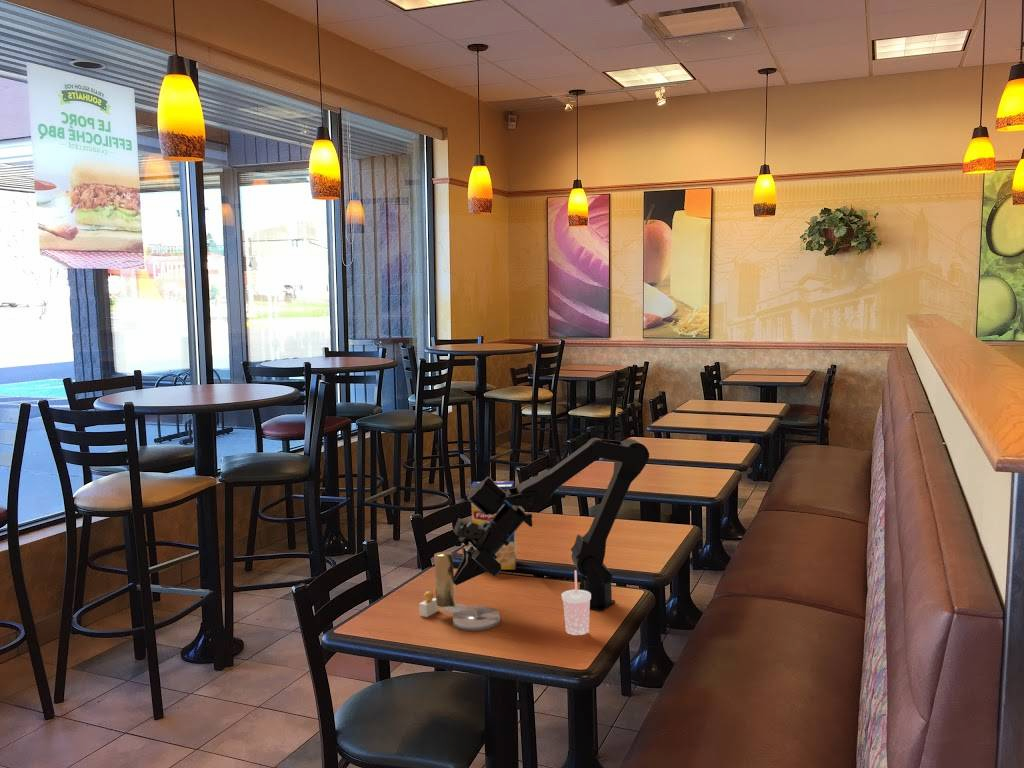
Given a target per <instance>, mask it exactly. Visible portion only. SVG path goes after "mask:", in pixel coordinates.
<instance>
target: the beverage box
mask: <svg viewBox="0 0 1024 768" xmlns="http://www.w3.org/2000/svg"><path fill="white" fill-rule="evenodd" d="M480 482H481V481H473V482H472V484H471V486H470V491H471V490H472V489H473V488H474V487H475V486H476V485H478V484H479V483H480ZM493 482H494V483H495V484H496V485H497V486H498V487H500V488H501V489H502V490H505V489H510V488H514V487H515V481H514V480H504V481H502V480H501V481H500V480H499V481H498V480H497V481H496V480H495V481H494V480H493ZM504 501H505V502H506V503H507V504H508V505H509V506H511V507H514V506H513V505H511V504H510V503H509V502H508V501H507V500H504ZM470 504H471V506H470V507H471V521H472V522H473V523H477V524H478V525H479V526H481V525H482V524H483V523H484V522H487V523H489V522H490V521H491V520H492V519H493V517H494V516H495V515H496V514H497V513H498V512H499V510H500V509H501V508H502V507H503V506H504V505H505V504H503V505H502V507H501V508H500V509H499V510H498V511H497V512H496V513H495V514H494V515H490V514H488V515H485V514H484V513H483V512H481V511H480V510H479V509H478V508H477V507H476V506H475V505H473V504H472V503H471V502H470ZM516 537H517V536H516V531H515V532H514V534H513V535H512V536H511V537H510V538H509V539H508V542H509V544H508V545H507V546H506V545H505V544H504V545H503V547H502V548H501V549H500V550H499V551H498V552H497V554H496V556H497V558H496V560H497V561H498V562H499V563H500V564H501V571H502V570H503V571H504V570H516V565H517V542H516V541H517V539H516Z"/></svg>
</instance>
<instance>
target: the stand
mask: <svg viewBox="0 0 1024 768" xmlns="http://www.w3.org/2000/svg"><path fill="white" fill-rule="evenodd" d="M423 599H424V600H423V601H421V602H420V603H419V604H418V608H419V617H425V618H428V617H430V616H431V615H433V614H435V613H437V612H439V611H440V610H439V609H440V606H437V604H436V597H434V593H433V592H432V591H430V590H427V591H425V593H424V594H423Z"/></svg>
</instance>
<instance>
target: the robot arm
mask: <svg viewBox="0 0 1024 768" xmlns="http://www.w3.org/2000/svg"><path fill="white" fill-rule="evenodd" d="M600 458H601V459H606V460H611V461H614V463H613V473H612V476H611V478H610V481H609V484H608V485H607V488H606V490H605V491H604V495H603V497H602V499H601V502H600V504H599V506H598V509H597V511H596V513H595V515H594V517H593V521H592V523H591V525H590V527H589V529H588V531H587V532H586V533H585V534H584V535H583V536H582V535H580V534H577V535H576V538H575V541H574V545H573V546H572V547H571V548H570V551H571V552H572V553H571V560H572V563H573V565H574V566H575V568H576V570H577V572H579V574H581V575H582V577H580V583H579V585H578V586H579V589H578V590H585V591H588V592H590V593H591V599H590V610H596V611H598V612H599V611H600V612H602V611H605V610H606V609H608V608H609V607H611V606H613V605H614V604H615V603H616V600H614V599H613V597H612V595H613V594H612V592H613V591H612V578H613V573H612V572H611V571H610V569H609V568H608V567H607V566H606V564H605V563H604V561H605V556H606V546H607V539H608V538H609V535H610V532H611V530H612V528H613V525H614V523H615V522H616V518H617V516H618V514H619V512H620V510H621V507H622V505H623V502H624V500H625V498H626V495H627V493H628V491H629V488H630V486H631V484H632V482H633V481H634V480H636V479H637V477H638V476H640V474H641V473H642V471H643V470H644V468H645V467H646V465H647V463H648V462H649V461H650V460H649V458H650V452H649V450H648V448H647V447H646V445H644V444H643V443H641V442H639V441H637V440H635V439H633V438H626V439H625V440H622V441H619V440H613V439H611V440H610V439H603V438H602V439H601V438H598V437H592V438H590V439H589V440H588V441H586V443H585V444H583V445H582V446H581V447H579V448H578V449H577V450H575V451H574V452H572V453H571V454H569V455H568V456H567V457H566V458H564V459H562V460H561V461H560V462H558V463H557V464H556V465H555V466H553V467H552V468H550V469H548V470H547V471H546V472H543V473H541V474H538V475H535V476H533V477H530V478H529V479H526V480H524V481H522V482H520V483H519V484H518V485H517V486H516V487H515V486H514V488H510V489H505V490H502V489H501V488H500V487H498V486H497V485H496V484H495V483H494V482H493V481H494V480H493V479H492V478H491V477H490V476H486V477H485V478H484V479H483V480H482V481H479V482H480V483H479V484H478V485H476V486H475V487H474V488H473V489H472V490H471V489H470V491H469V493H468V494H467V497H466V499H467V500H468V501H469V502H470V504H471V503H472V504H473V505H475V506H476V507H477V508H478V509H479V510H480V511H481V512H483V513H484V514H485V515H488V514H490V515H494V514H495V513H496V512H497V511H498V510H499V509H500V508H501V507H502V505H503V504H505V505H504V506H503V507H502V508H501V509H500V510H499V512H498V513H497V514H496V515H495V516H494V517H493V519H492V520H491V521H490V522H489V523H487V522H484V523H483V524H482V525H481V526H479V525H478V524H477V523H473V522H472V520H471V521H469V520H466V519H464V518H461V517H460V518H457V520H456V523H455V525H454V528H453V531H452V532H453V533H455V536H457V537H459V538H458V540H459V542H460V543H461V544H463V545H464V546H466V547H464V546H461V551H462V553H461V554H462V558H461V561H460V563H459V565H458V567H457V569H456V571H455V572H454V586H458V585H461V584H463V583H465V582H467V581H469V580H471V579H473V578H476V577H478V576H480V575H484V574H485V573H486V574H487V573H490V574H491V575H492V576H493V577H495V578H497V576H498V575H499V574H500V573H501V572H502V570H501V564H500V563H499V562H498V561H497V560H496V558H497V556H496V554H497V552H498V551H499V550H500V549H501V548H502V547H503V545H504V544H505V545H506V546H507V545H508V544H509V542H508V539H509V538H510V537H511V536H512V535H513V534H514V532H515V533H516V531H517V530H518V529H519V528H520V527H521V525H522V524H523V523H525V524H526V525H527V526H529V527H531V528H532V527H533V513H531V512H536V511H538V510H540V509H541V508H542V507H543V506H544V505H545V504H546V503H547V502H548V501H549V500H550V499H551V498H552V496H553V495H554V494H555V492H556V490H558V488H560V487H561V486H562V485H564V484H566V483H567V482H568V481H569V480H571V479H572V478H573V477H575V476H577V474H579V473H580V472H582V471H584V469H586V468H587V467H588V466H590V465H591V464H592V463H594V462H596V461H597V460H598V459H600ZM504 500H507V501H508V502H509V503H510V504H511V505H513V506H514V507H511V506H509V505H508V504H507V503H506V502H505V501H504ZM524 510H525V511H527V512H525V511H524Z"/></svg>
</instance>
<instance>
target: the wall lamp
mask: <svg viewBox="0 0 1024 768" xmlns="http://www.w3.org/2000/svg"><path fill="white" fill-rule="evenodd" d="M453 555H454V554H453V553H452V552H450V551H439V552H436V553H434V557H433V559H434V576H435V577H434V580H435V598H436V604H437V606H439V608H440V607H442V611H445V612H450V613H453V614H452V626H453V627H455V628H456V629H458V630H462V631H466V632H467V631H468V632H478V631H486V630H487V631H488V630H490V629H493V628H495V627H497V626H498V625H499V624H500V620H501V619H500V612H499V611H498V609H497V608H496V609H495V608H493V607H488V606H471V605H466V604H460V603H456V602H455V601H456V600H455V584H454V575H455V572H454V558H453Z"/></svg>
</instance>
